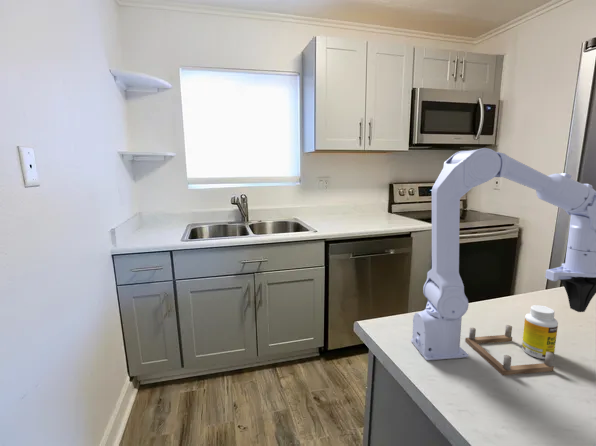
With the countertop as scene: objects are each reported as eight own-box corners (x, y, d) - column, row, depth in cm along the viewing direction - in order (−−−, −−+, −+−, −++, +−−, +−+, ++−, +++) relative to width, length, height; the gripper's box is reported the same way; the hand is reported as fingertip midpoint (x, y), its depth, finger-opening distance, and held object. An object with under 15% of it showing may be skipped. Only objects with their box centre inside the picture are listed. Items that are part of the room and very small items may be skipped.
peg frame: (502, 375, 60) (504, 359, 60) (465, 341, 72) (466, 327, 71) (553, 371, 61) (555, 355, 60) (508, 338, 73) (509, 324, 72)
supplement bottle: (547, 363, 63) (553, 317, 61) (517, 351, 68) (521, 307, 66) (558, 354, 66) (563, 310, 64) (528, 342, 71) (532, 301, 69)
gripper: (597, 242, 68) (589, 299, 70) (536, 245, 67) (530, 304, 69) (634, 250, 61) (624, 314, 63) (566, 254, 60) (558, 319, 62)
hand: (577, 309), depth 66 cm, fingers closed
